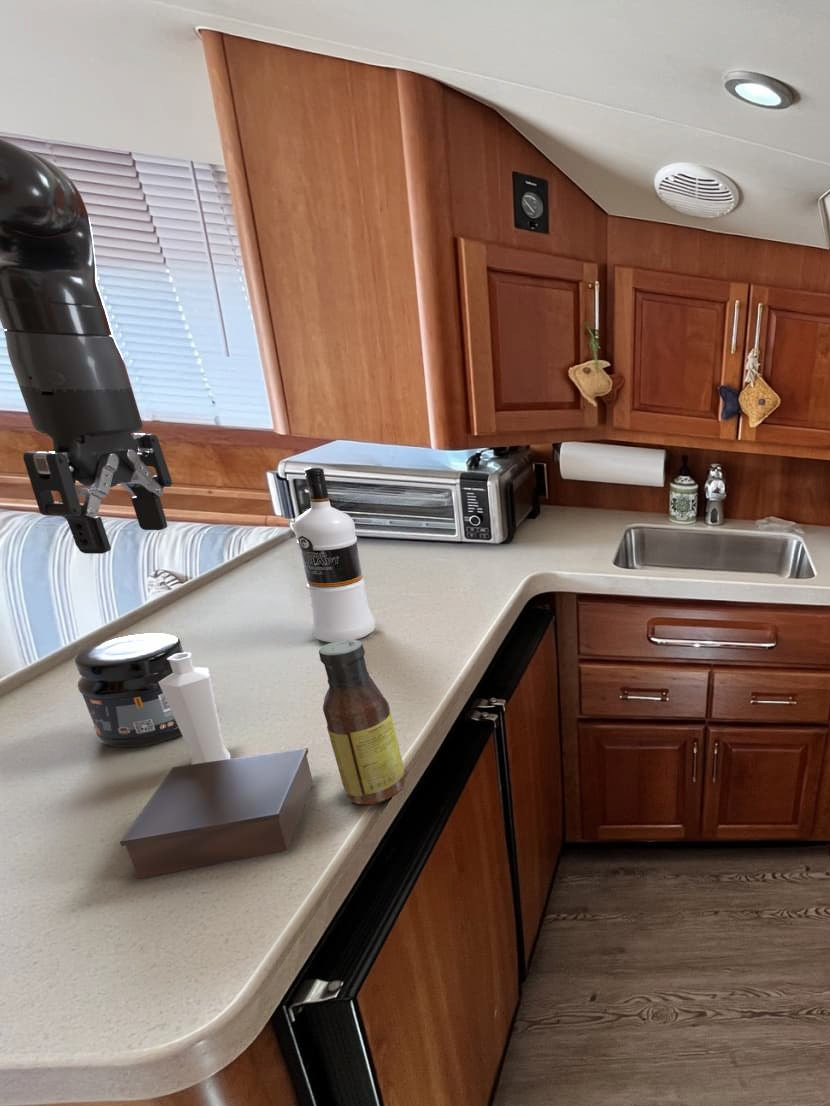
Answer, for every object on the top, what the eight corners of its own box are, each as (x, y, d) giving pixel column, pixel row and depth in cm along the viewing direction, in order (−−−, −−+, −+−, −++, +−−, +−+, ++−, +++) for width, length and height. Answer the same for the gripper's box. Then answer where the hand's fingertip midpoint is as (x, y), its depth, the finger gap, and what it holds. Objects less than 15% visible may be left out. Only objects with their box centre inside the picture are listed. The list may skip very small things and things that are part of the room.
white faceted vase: (181, 777, 77) (144, 667, 72) (195, 756, 81) (161, 651, 75) (229, 769, 79) (197, 663, 73) (241, 750, 83) (211, 646, 77)
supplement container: (123, 714, 88) (94, 635, 83) (220, 702, 92) (198, 627, 87) (81, 757, 79) (47, 672, 74) (191, 743, 83) (165, 661, 79)
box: (134, 881, 63) (119, 842, 61) (185, 802, 73) (173, 766, 71) (289, 851, 68) (278, 813, 66) (315, 781, 78) (307, 747, 76)
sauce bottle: (414, 774, 81) (390, 633, 74) (394, 806, 75) (365, 658, 68) (357, 776, 80) (327, 633, 72) (332, 809, 74) (297, 658, 67)
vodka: (387, 631, 117) (360, 468, 106) (334, 649, 109) (298, 475, 98) (356, 619, 121) (326, 460, 110) (302, 635, 113) (264, 467, 102)
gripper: (86, 375, 68) (132, 522, 74) (-44, 384, 55) (25, 561, 61) (171, 380, 69) (209, 523, 75) (64, 390, 57) (120, 561, 63)
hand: (127, 540), depth 68 cm, fingers open, 8 cm apart
